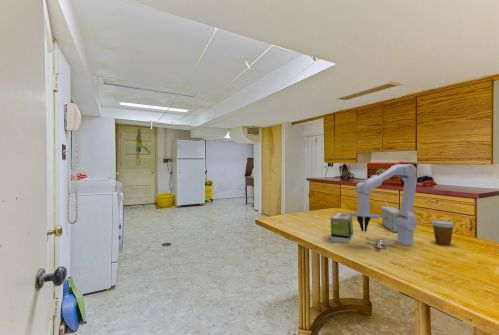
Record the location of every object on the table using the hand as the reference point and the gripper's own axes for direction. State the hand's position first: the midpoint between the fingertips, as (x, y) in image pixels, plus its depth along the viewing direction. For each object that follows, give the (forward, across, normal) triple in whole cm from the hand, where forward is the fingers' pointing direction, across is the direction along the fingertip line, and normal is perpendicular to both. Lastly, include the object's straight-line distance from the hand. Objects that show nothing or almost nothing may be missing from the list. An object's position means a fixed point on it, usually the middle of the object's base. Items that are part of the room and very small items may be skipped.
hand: (364, 231), depth 129 cm
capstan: (+8, +7, +2) cm, 11 cm away
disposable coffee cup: (+10, +35, +29) cm, 46 cm away
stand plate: (+9, +7, +4) cm, 12 cm away
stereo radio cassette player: (+10, +10, +50) cm, 52 cm away
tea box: (+10, -13, +9) cm, 19 cm away
